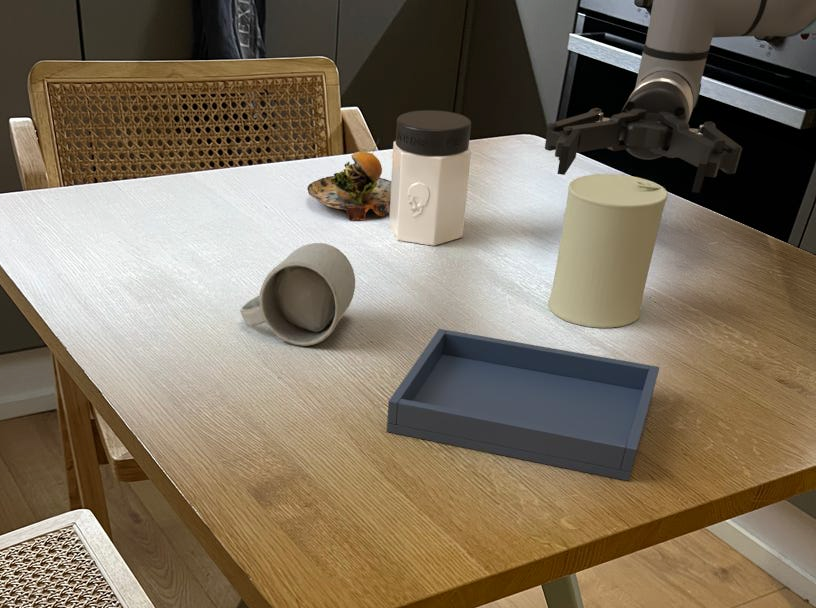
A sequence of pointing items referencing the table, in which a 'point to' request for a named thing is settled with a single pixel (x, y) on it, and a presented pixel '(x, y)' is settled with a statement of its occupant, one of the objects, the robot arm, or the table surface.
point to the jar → (429, 177)
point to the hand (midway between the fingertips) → (630, 169)
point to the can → (606, 249)
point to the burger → (355, 188)
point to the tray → (526, 402)
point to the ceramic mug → (304, 295)
